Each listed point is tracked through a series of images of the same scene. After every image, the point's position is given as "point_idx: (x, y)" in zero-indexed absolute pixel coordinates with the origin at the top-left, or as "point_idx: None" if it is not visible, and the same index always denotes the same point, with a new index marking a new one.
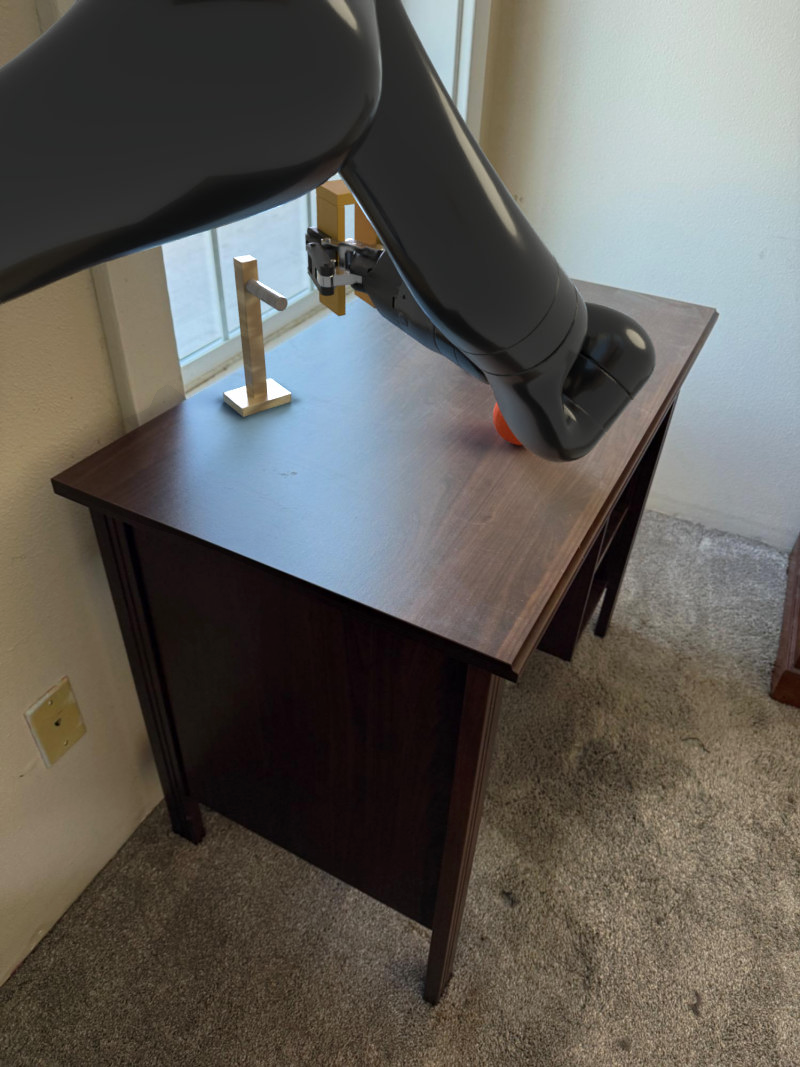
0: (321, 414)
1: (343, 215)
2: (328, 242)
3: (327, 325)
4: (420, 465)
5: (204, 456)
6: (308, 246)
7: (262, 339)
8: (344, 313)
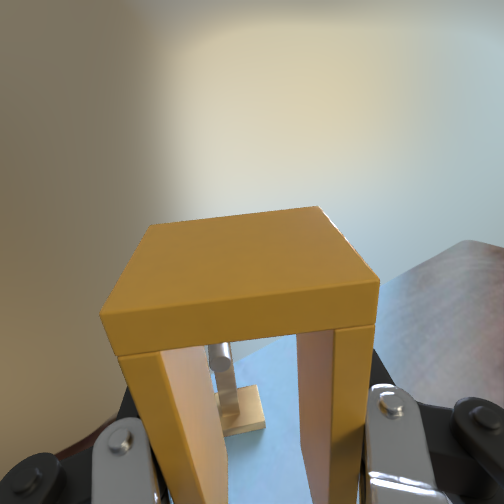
0: (290, 471)
1: (158, 385)
2: (99, 470)
3: None
4: None
5: None
6: (1, 487)
7: (231, 365)
8: None
